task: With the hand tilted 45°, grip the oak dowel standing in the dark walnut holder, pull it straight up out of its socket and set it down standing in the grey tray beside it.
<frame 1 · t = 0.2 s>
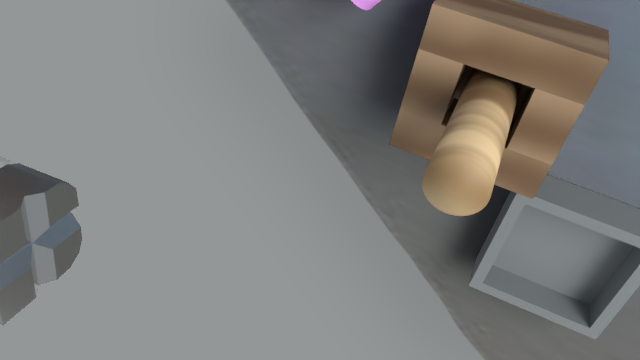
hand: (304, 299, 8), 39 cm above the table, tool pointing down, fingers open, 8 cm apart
oak dowel: (495, 80, 45), point 1 cm above the table, touching walnut holder
walnut holder: (497, 76, 45), on the table
grey tray: (561, 240, 51), on the table
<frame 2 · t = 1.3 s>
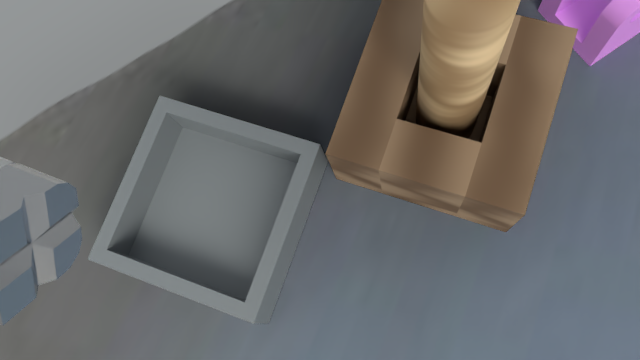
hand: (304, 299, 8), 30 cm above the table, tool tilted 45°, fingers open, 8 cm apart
oak dowel: (445, 120, 38), point 1 cm above the table, touching walnut holder
walnut holder: (444, 125, 39), on the table
grey tray: (222, 213, 40), on the table
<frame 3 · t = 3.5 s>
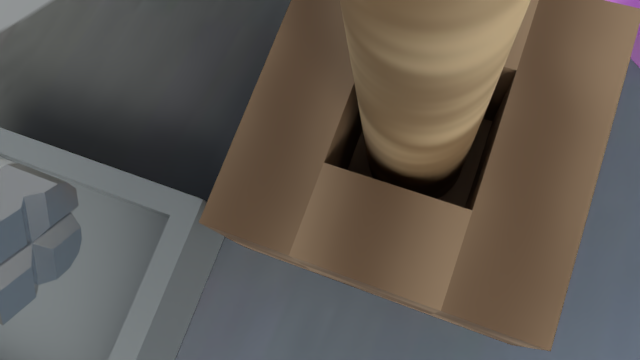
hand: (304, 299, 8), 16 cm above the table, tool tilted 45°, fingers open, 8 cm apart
oak dowel: (415, 158, 24), point 1 cm above the table, touching walnut holder
walnut holder: (414, 164, 25), on the table
grey tray: (65, 298, 25), on the table
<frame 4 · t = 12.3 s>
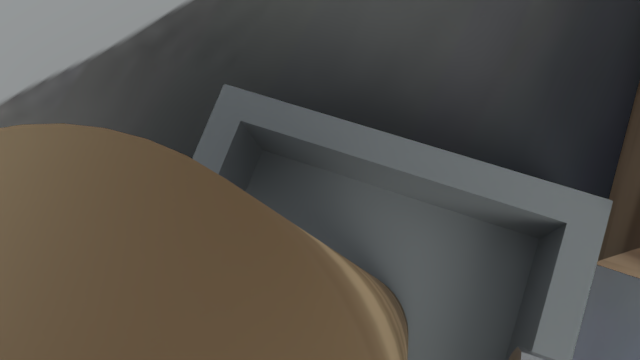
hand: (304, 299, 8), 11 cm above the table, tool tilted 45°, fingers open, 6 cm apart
oak dowel: (346, 332, 18), point 1 cm above the table, touching grey tray
grey tray: (347, 332, 19), on the table
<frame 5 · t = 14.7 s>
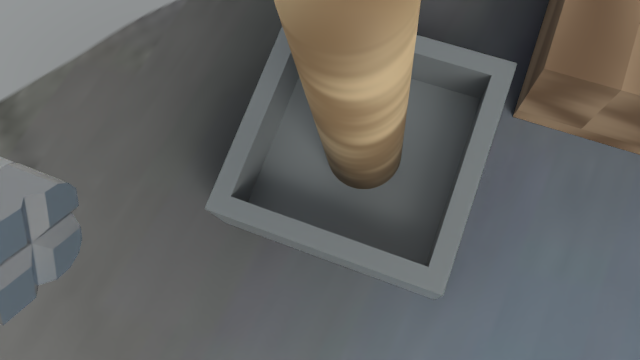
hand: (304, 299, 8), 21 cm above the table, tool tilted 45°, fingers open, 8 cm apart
oak dowel: (364, 153, 30), point 1 cm above the table, touching grey tray
grey tray: (363, 159, 31), on the table
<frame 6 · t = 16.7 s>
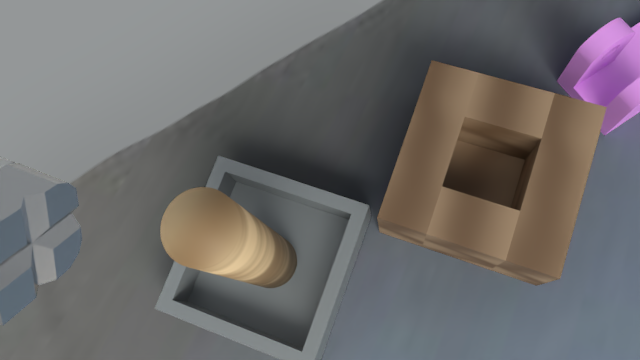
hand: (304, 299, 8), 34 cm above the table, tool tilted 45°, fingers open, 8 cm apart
oak dowel: (271, 261, 42), point 1 cm above the table, touching grey tray
walnut holder: (478, 184, 43), on the table
grey tray: (273, 263, 43), on the table
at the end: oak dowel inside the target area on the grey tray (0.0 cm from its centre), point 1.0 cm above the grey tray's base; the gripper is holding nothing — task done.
